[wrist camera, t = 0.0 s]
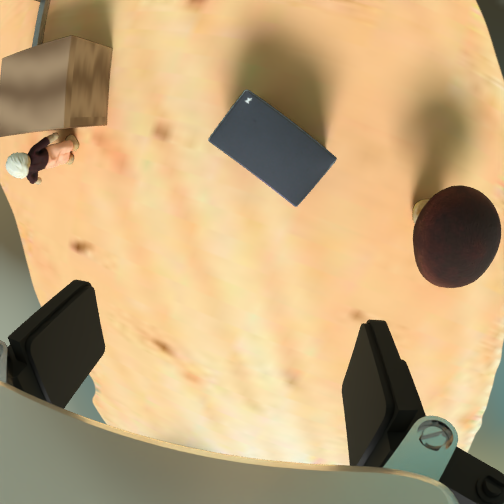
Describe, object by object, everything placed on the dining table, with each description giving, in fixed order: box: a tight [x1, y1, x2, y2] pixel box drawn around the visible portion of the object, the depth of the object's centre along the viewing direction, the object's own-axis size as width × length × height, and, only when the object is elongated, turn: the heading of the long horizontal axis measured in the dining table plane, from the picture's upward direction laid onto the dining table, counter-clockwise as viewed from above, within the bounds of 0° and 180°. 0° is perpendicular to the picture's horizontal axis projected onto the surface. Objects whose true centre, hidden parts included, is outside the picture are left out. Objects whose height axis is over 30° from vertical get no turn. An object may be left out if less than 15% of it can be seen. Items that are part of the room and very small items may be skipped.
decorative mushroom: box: [412, 186, 501, 288], centre depth 31 cm, size 11×11×15 cm
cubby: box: [0, 35, 113, 137], centre depth 33 cm, size 11×13×10 cm
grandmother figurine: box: [6, 133, 79, 184], centre depth 35 cm, size 8×4×13 cm, turn 158°
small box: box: [208, 90, 337, 207], centre depth 33 cm, size 11×6×10 cm, turn 53°
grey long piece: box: [32, 0, 50, 47], centre depth 29 cm, size 16×6×7 cm, turn 176°
